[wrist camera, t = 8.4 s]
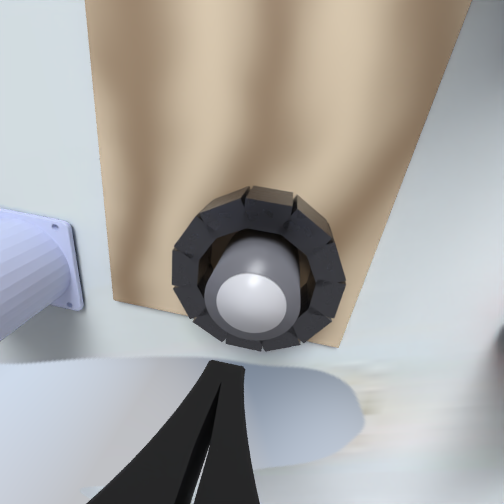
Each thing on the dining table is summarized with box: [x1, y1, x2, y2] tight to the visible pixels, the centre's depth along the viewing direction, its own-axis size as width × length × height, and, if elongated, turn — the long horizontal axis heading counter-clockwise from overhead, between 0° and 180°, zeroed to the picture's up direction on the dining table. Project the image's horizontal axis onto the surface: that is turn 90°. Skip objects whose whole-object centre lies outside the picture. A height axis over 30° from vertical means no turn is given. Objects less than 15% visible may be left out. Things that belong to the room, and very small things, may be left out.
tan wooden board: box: [85, 0, 472, 348], centre depth 17 cm, size 18×24×1 cm
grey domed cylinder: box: [204, 228, 300, 340], centre depth 17 cm, size 5×5×5 cm
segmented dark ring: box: [172, 186, 346, 351], centre depth 18 cm, size 10×10×3 cm
